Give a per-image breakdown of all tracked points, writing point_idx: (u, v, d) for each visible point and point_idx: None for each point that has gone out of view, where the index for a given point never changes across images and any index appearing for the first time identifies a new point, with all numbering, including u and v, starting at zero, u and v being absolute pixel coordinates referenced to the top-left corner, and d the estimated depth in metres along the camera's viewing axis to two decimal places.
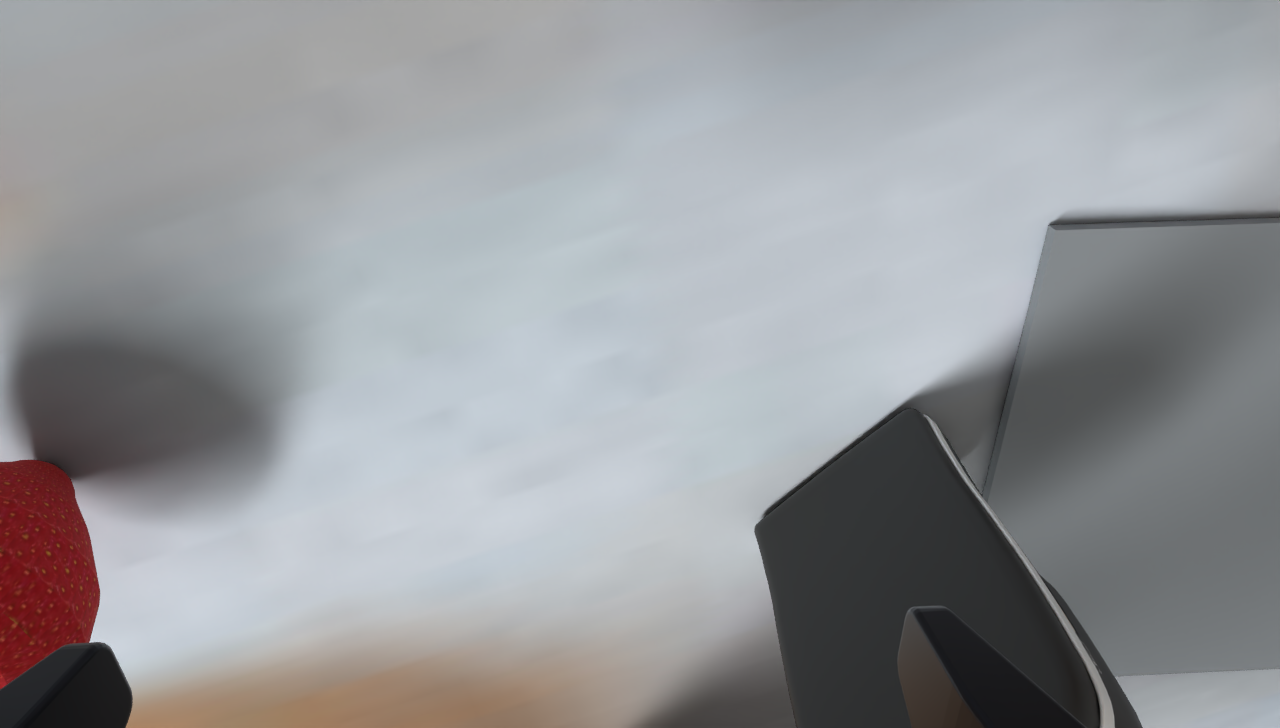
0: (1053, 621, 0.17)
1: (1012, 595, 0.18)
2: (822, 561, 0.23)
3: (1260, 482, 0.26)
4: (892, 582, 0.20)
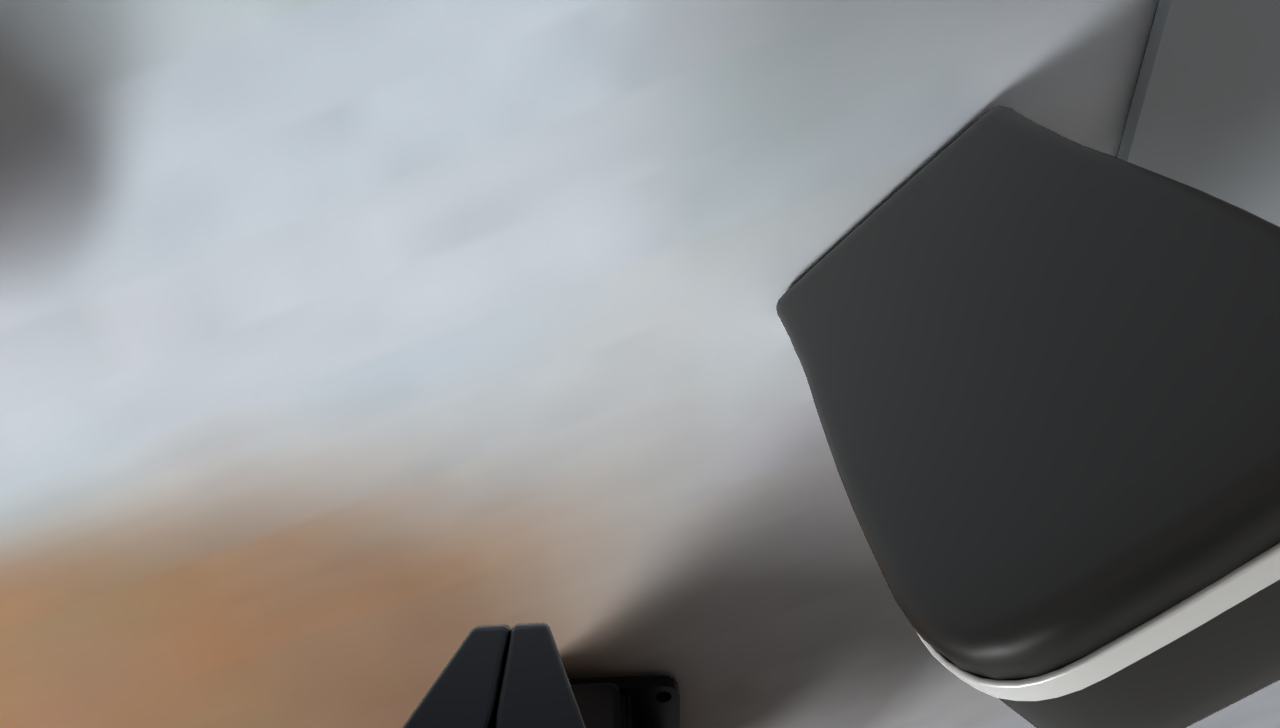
0: None
1: (1226, 230, 0.11)
2: (880, 302, 0.16)
3: None
4: (997, 286, 0.13)
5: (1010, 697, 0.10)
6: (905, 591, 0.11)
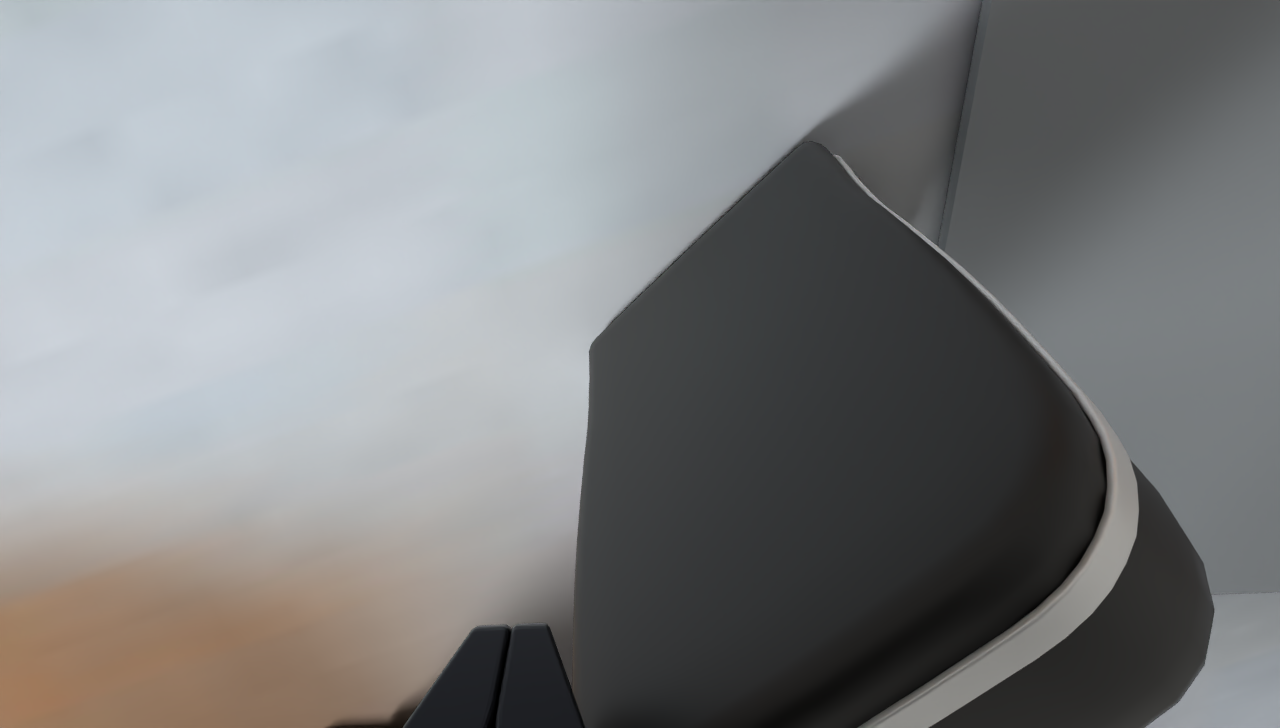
0: (1011, 327, 0.08)
1: (936, 303, 0.09)
2: (659, 355, 0.14)
3: None
4: (747, 348, 0.12)
5: None
6: None
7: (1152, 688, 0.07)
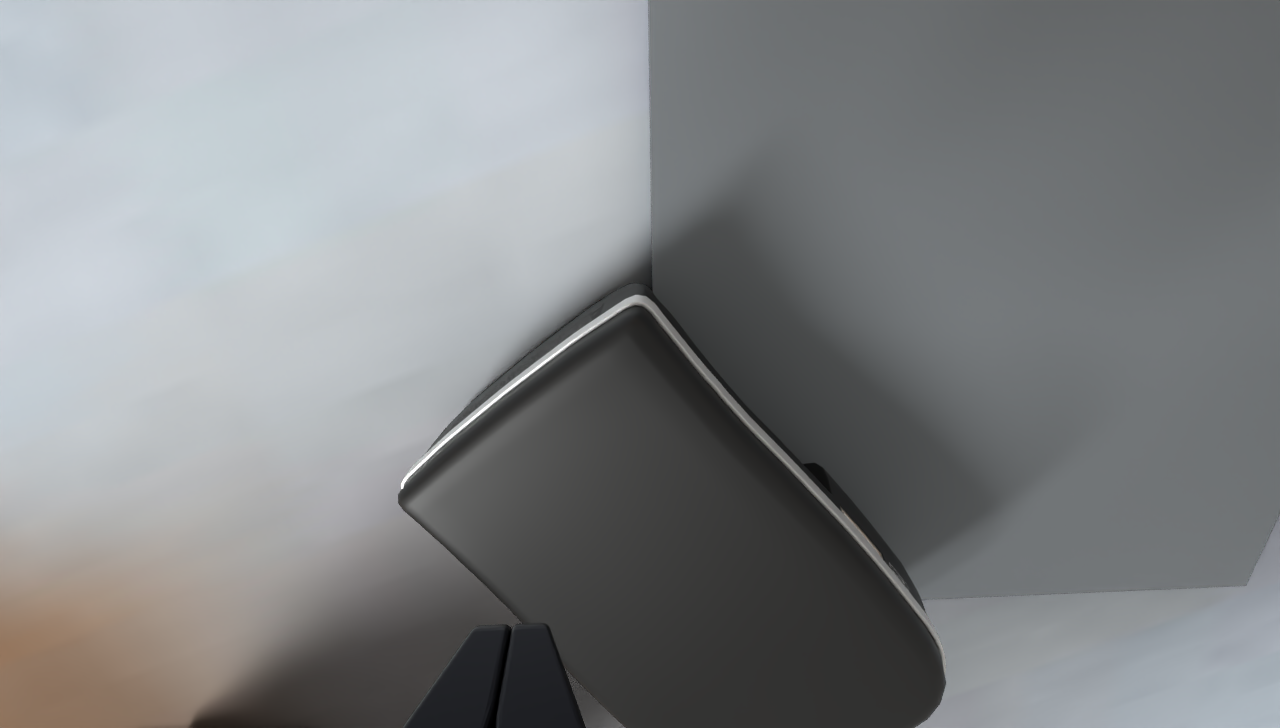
0: (906, 610, 0.16)
1: (868, 602, 0.16)
2: (575, 562, 0.16)
3: (1064, 284, 0.17)
4: (703, 588, 0.16)
5: None
6: None
7: None
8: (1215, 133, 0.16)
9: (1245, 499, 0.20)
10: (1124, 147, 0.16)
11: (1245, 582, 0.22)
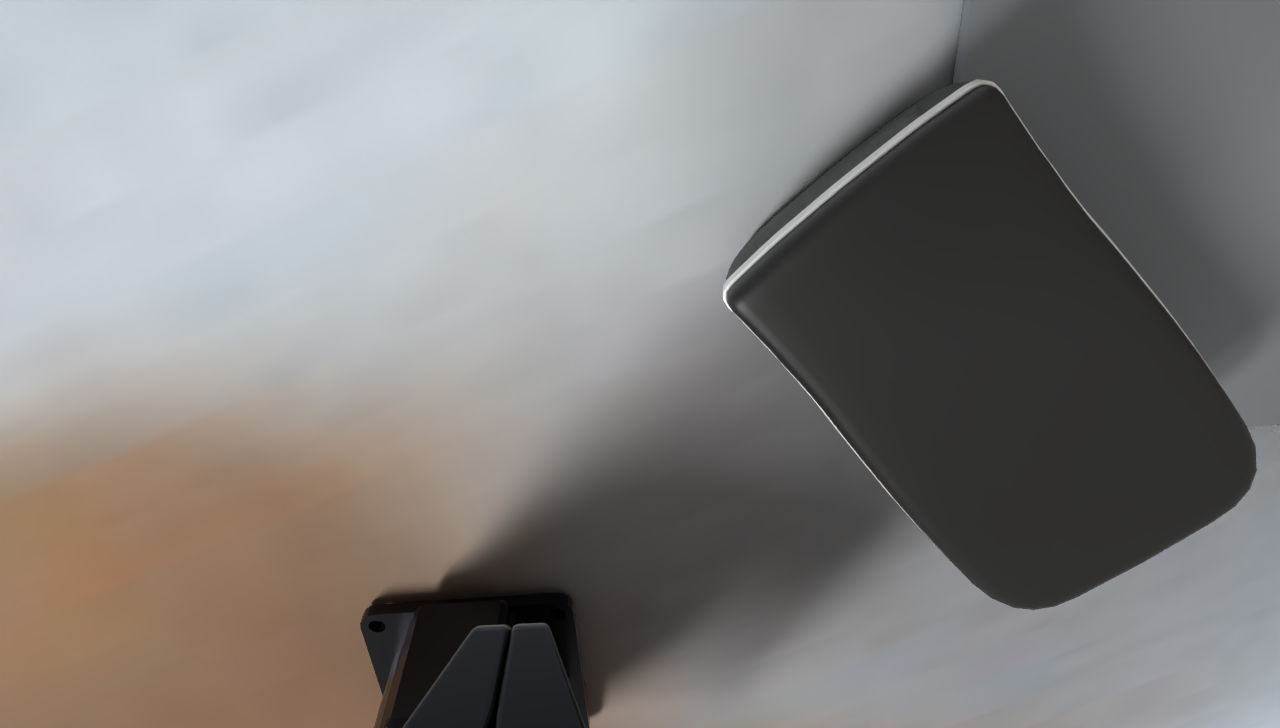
0: (1224, 391, 0.17)
1: (1193, 381, 0.17)
2: (903, 355, 0.17)
3: None
4: (1028, 376, 0.17)
5: None
6: (989, 588, 0.19)
7: None
8: None
9: None
10: None
11: None
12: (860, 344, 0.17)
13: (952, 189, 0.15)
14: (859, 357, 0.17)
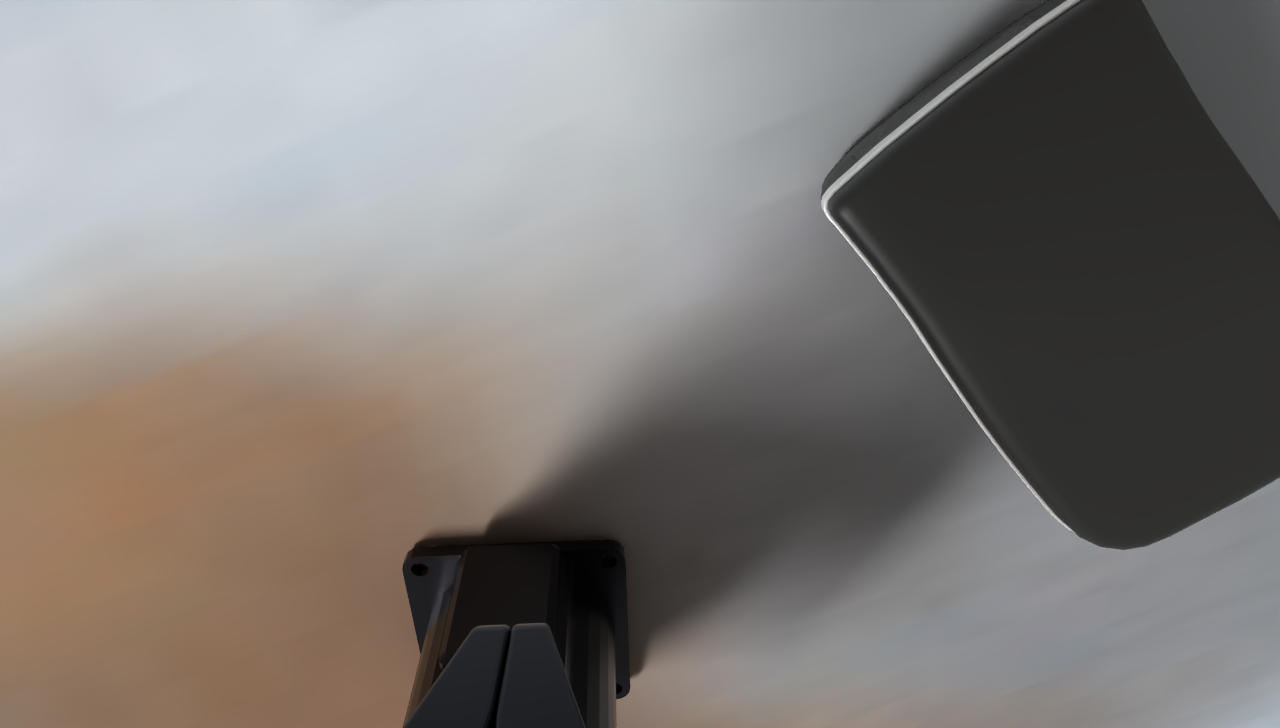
0: None
1: None
2: (1011, 269, 0.16)
3: None
4: (1140, 294, 0.16)
5: None
6: (1080, 525, 0.18)
7: None
8: None
9: None
10: None
11: None
12: (968, 256, 0.16)
13: (1077, 89, 0.15)
14: (966, 270, 0.16)
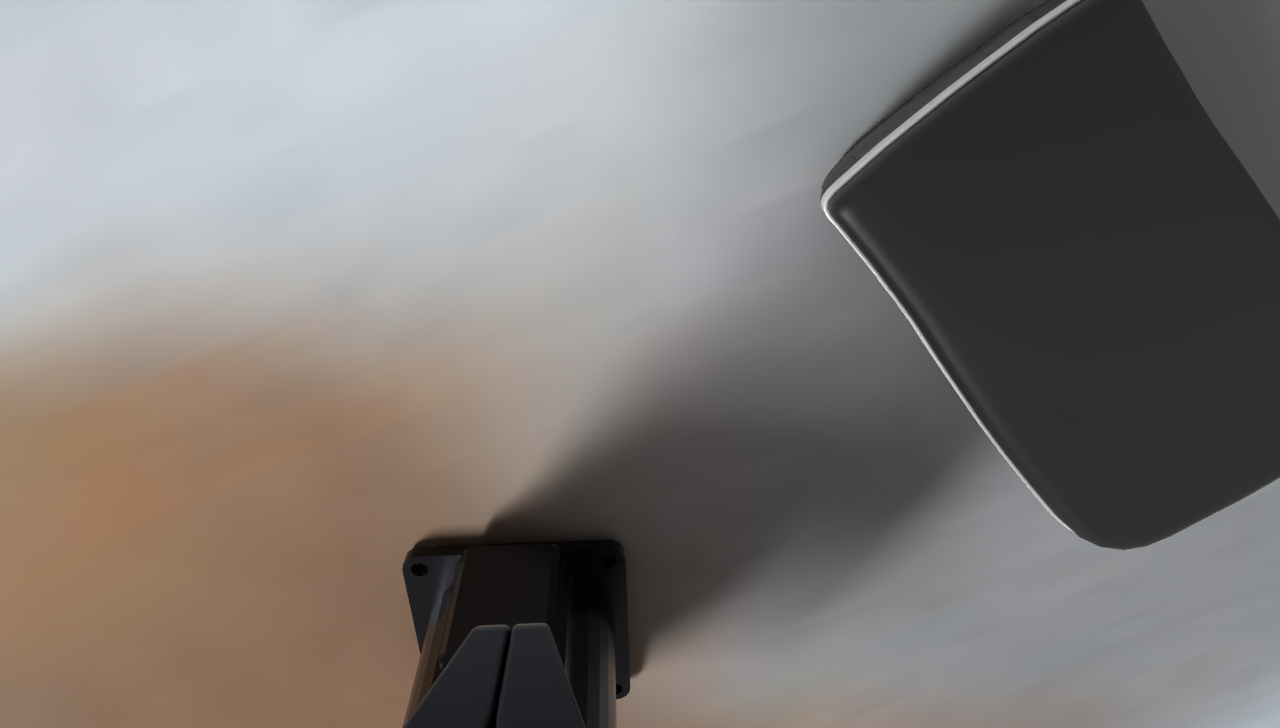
0: None
1: None
2: (1011, 269, 0.16)
3: None
4: (1139, 294, 0.16)
5: None
6: (1080, 525, 0.18)
7: None
8: None
9: None
10: None
11: None
12: (968, 256, 0.16)
13: (1077, 89, 0.15)
14: (966, 270, 0.16)
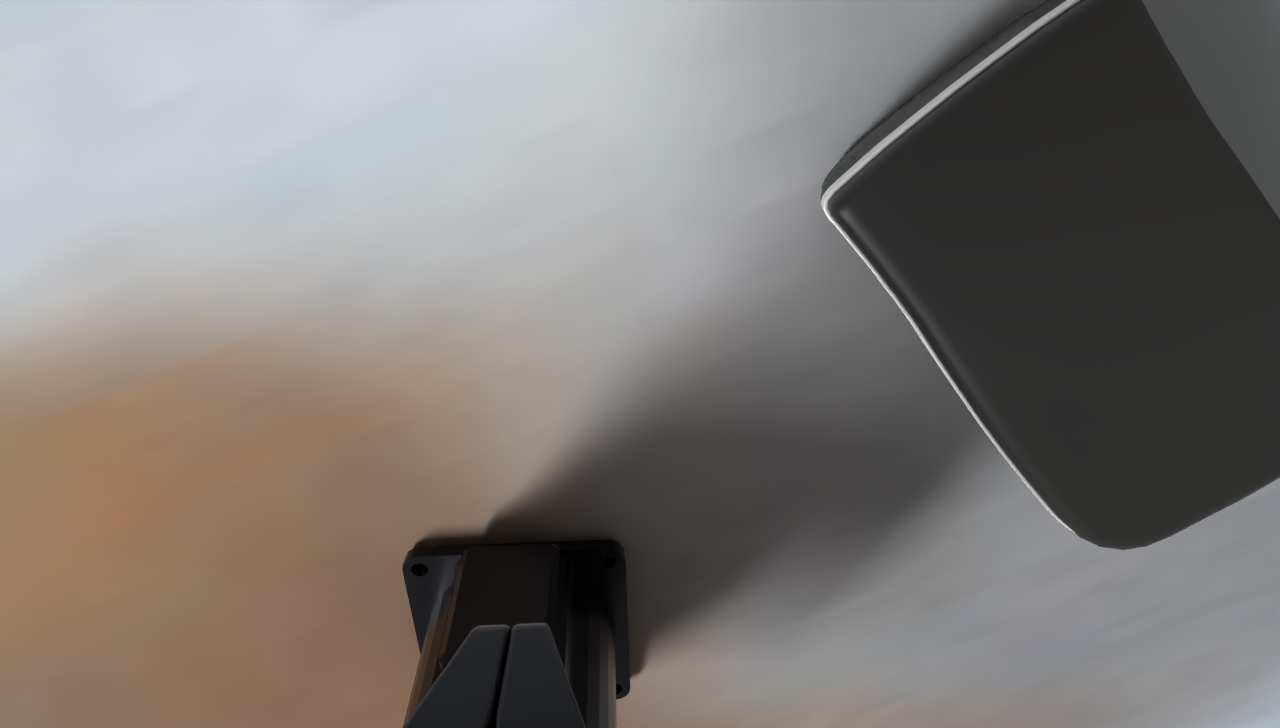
0: None
1: None
2: (1011, 269, 0.16)
3: None
4: (1140, 294, 0.16)
5: None
6: (1080, 525, 0.18)
7: None
8: None
9: None
10: None
11: None
12: (968, 256, 0.16)
13: (1077, 89, 0.15)
14: (966, 270, 0.16)
